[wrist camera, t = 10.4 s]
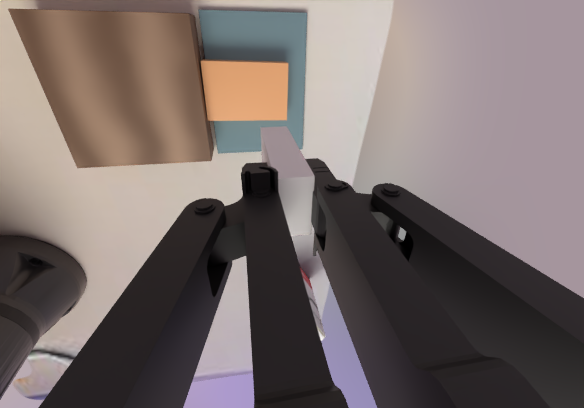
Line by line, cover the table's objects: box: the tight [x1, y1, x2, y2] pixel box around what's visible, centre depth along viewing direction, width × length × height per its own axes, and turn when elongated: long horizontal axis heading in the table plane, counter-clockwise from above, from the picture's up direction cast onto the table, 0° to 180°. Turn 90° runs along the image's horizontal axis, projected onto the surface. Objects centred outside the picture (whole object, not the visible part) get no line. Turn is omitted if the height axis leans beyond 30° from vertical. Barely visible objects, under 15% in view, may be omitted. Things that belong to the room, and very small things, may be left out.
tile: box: [201, 59, 288, 121], centre depth 31 cm, size 9×6×2 cm, turn 88°
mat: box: [198, 10, 307, 153], centre depth 32 cm, size 11×15×1 cm
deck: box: [8, 9, 214, 168], centre depth 28 cm, size 14×14×4 cm
